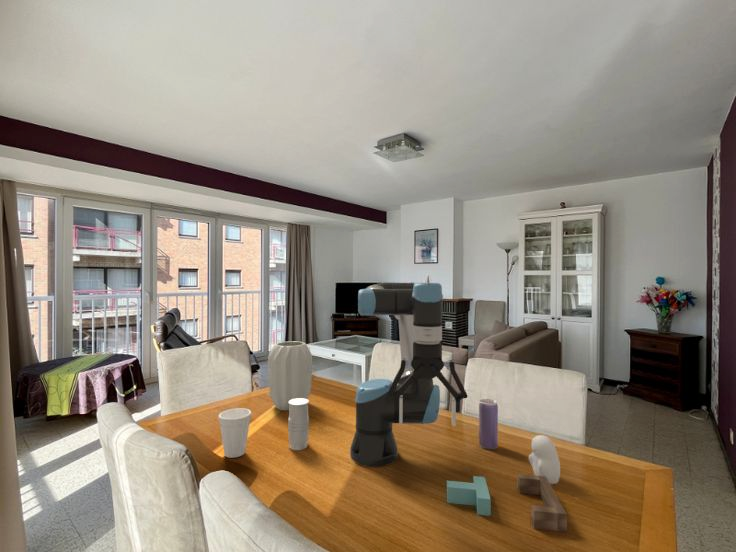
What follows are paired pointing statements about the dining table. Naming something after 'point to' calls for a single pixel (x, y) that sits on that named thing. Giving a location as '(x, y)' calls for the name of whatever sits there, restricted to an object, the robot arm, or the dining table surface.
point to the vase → (289, 372)
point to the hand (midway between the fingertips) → (427, 423)
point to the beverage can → (488, 424)
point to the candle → (298, 423)
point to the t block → (470, 494)
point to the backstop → (553, 510)
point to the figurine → (545, 459)
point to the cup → (234, 431)
